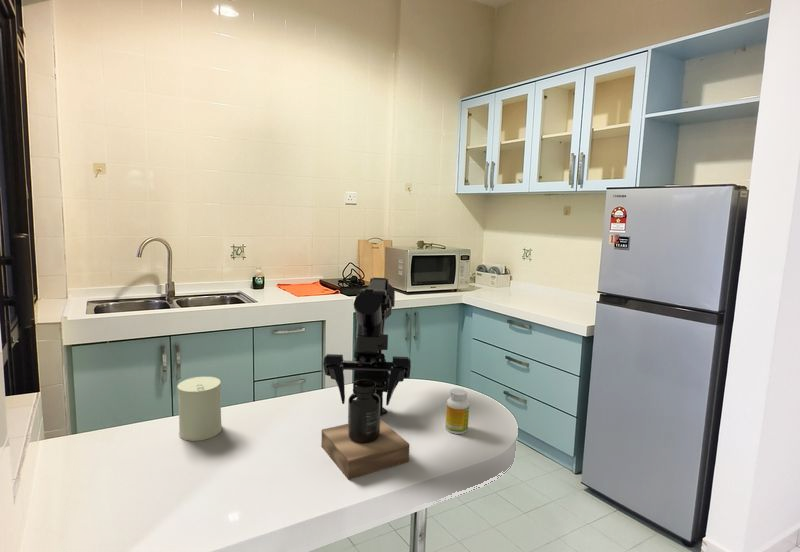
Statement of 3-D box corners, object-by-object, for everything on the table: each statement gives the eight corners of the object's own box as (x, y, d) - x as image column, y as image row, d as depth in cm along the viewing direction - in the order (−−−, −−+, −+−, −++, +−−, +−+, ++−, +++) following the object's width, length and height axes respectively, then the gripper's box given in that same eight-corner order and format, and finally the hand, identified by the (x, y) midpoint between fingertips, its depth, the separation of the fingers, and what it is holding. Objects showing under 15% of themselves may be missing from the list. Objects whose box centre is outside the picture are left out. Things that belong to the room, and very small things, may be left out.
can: (180, 444, 104) (178, 392, 102) (177, 426, 112) (175, 377, 110) (224, 436, 108) (223, 386, 107) (219, 419, 117) (218, 372, 115)
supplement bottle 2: (466, 436, 113) (469, 397, 111) (444, 433, 114) (446, 394, 112) (468, 425, 118) (470, 388, 117) (446, 422, 119) (448, 385, 118)
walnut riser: (321, 446, 106) (321, 429, 105) (377, 432, 113) (377, 416, 112) (348, 479, 94) (348, 460, 93) (408, 461, 101) (409, 444, 100)
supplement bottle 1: (378, 428, 106) (380, 377, 105) (380, 444, 100) (382, 389, 98) (347, 428, 106) (348, 377, 104) (347, 444, 99) (348, 389, 97)
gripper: (325, 318, 102) (316, 387, 93) (412, 321, 103) (412, 390, 94) (329, 342, 111) (321, 407, 102) (409, 345, 112) (409, 410, 103)
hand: (365, 404), depth 100 cm, fingers open, 9 cm apart
